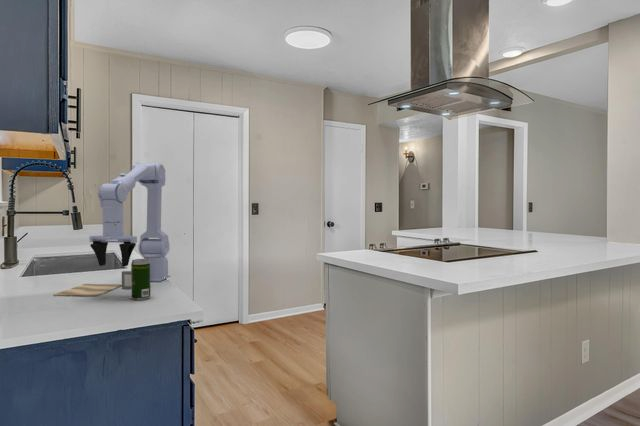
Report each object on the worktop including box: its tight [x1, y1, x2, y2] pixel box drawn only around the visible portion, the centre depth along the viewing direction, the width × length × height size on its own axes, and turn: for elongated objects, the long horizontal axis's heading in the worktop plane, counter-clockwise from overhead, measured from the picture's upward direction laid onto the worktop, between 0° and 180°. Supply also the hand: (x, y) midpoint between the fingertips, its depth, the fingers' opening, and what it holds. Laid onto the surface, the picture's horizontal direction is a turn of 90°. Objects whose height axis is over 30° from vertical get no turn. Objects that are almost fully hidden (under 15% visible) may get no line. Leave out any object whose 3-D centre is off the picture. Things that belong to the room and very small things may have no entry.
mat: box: [52, 283, 122, 298], centre depth 135 cm, size 16×14×1 cm
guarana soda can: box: [130, 258, 151, 301], centre depth 125 cm, size 5×5×12 cm
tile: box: [121, 270, 132, 290], centre depth 138 cm, size 2×8×6 cm, turn 87°
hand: (113, 265), depth 126 cm, fingers open, 7 cm apart
